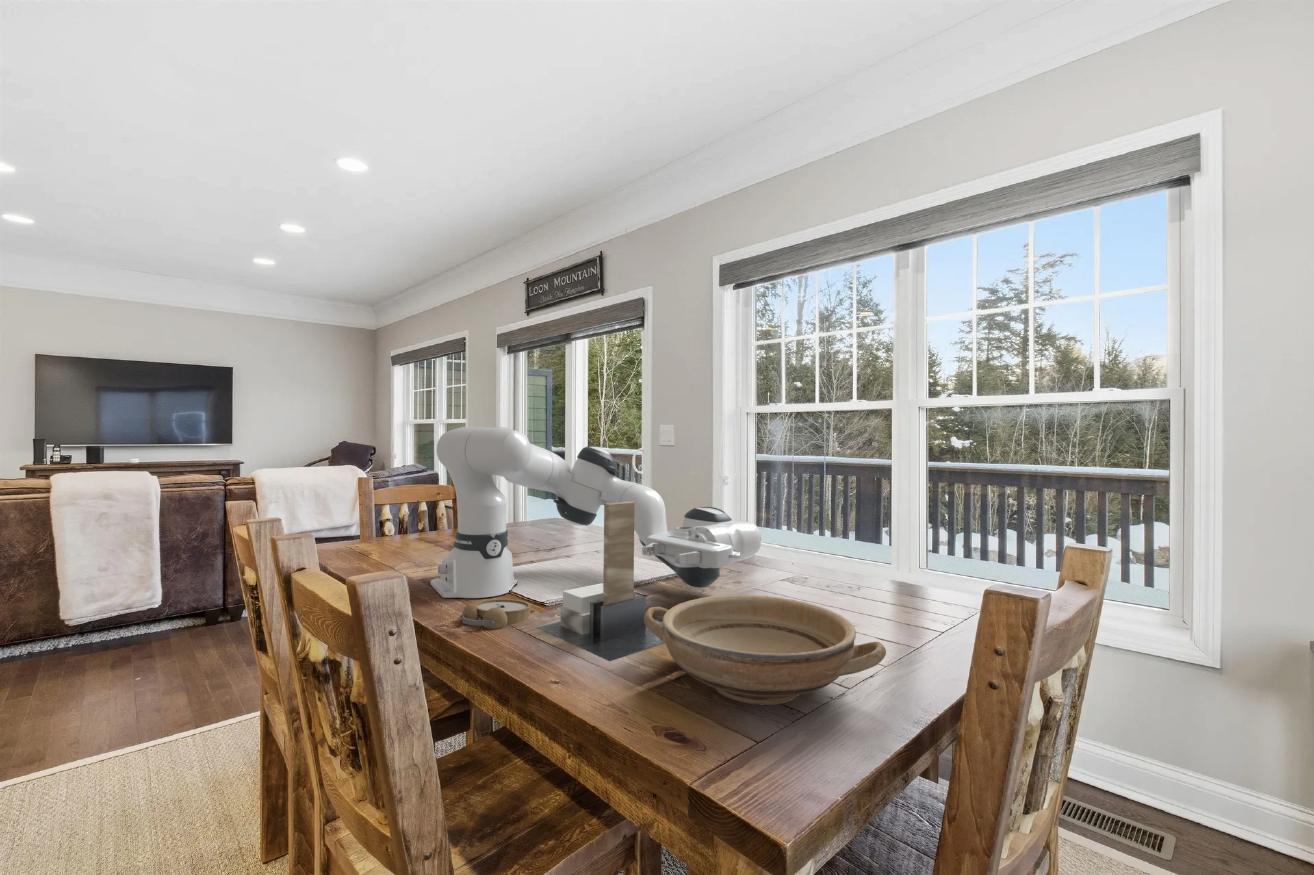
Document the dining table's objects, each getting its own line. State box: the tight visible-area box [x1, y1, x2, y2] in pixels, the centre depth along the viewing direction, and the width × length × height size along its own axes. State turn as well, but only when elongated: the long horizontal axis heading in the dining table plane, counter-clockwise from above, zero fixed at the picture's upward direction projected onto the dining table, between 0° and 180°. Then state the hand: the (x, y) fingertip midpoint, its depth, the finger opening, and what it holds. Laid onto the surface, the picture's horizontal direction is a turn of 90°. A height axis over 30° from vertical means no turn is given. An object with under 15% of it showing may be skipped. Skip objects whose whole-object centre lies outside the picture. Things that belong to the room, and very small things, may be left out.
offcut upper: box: [562, 582, 603, 614], centre depth 115 cm, size 6×10×3 cm, turn 133°
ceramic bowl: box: [644, 594, 887, 706], centre depth 89 cm, size 37×29×10 cm
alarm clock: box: [459, 598, 535, 630], centre depth 117 cm, size 11×5×15 cm
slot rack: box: [536, 593, 666, 662], centre depth 111 cm, size 22×20×7 cm
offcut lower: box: [560, 606, 590, 635], centre depth 115 cm, size 7×12×4 cm, turn 133°
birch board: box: [602, 502, 635, 605], centre depth 110 cm, size 2×6×24 cm, turn 133°
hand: (660, 555), depth 117 cm, fingers open, 8 cm apart
